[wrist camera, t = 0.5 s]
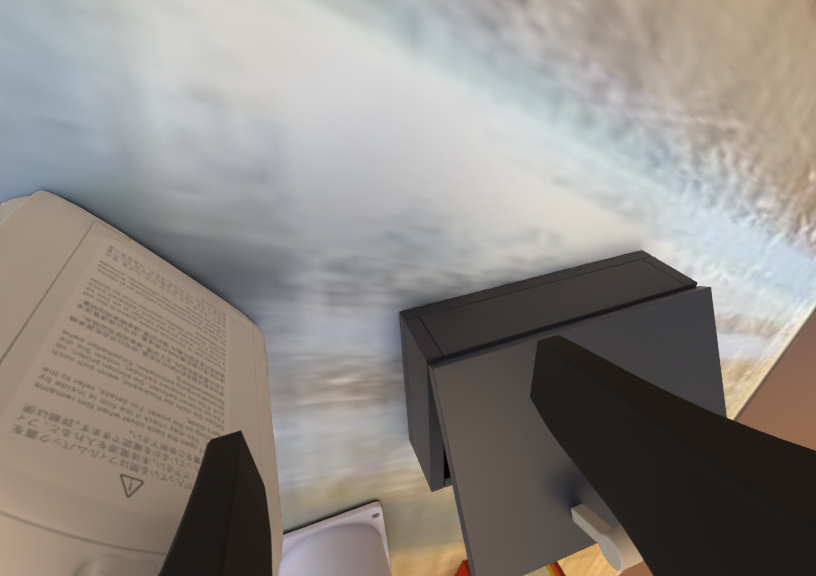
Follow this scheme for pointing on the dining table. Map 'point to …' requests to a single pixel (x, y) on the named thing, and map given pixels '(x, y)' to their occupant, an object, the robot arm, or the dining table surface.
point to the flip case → (513, 329)
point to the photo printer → (112, 395)
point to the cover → (538, 449)
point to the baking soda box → (552, 572)
